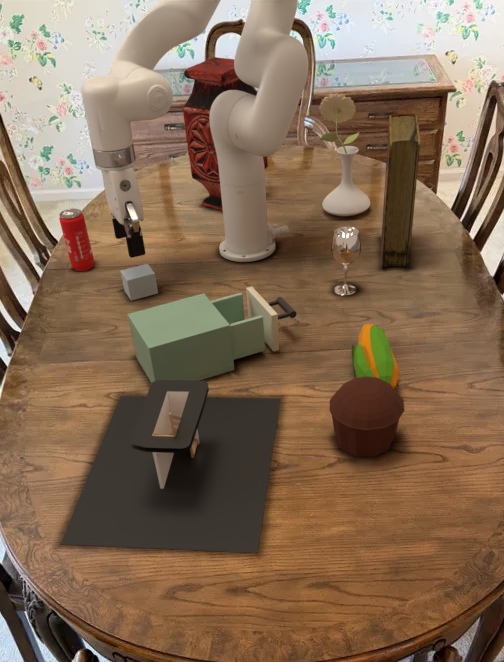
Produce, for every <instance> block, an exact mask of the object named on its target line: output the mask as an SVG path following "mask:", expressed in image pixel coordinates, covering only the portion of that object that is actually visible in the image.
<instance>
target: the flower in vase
mask: <svg viewBox="0 0 504 662" xmlns="http://www.w3.org/2000/svg"><path fill="white" fill-rule="evenodd" d="M319 105H320V106H318V111H319V112H320V115H322V118H323V119H324V120H327V121H328V122H331V121H332V122H333V124H335V134H334V133H332V132H325V133H324V134H323V135H321V137H320V138H319V140H320V141H324V142H329V143H335V142H336V140H338V141H339V143H340V145H341V146H339V147H338V148H336V153H337V155H338V157H339V158H340V164H341V181H340V183H339V185H338V186H337V187H335V188H334V189H332V191H330V192H329V193H328V194H327V195H326V196H325V197H324V199H323V201H322V204H321V207H322V209H323V210H324V211H325V212H326V213H327V214H330V215H334V216H337V217H351V216H357V215H360V214H362V213H365V212H366V211H367V210H368V209H369V208H370V207H371V200H370V197H368V195H367V194H366V193H365V192H364V191H362V189H360V188H359V187H357V186H356V185H355V184H354V182H353V165H354V160H355V157H356V155H357V154H358V152H359V151H360V148H358V147H357V146H353V145H348V144H351V143H353V142H354V141H355V140H356V139H357V138H358V136H359V135H360V132H357V133H355V134H350V135H348V136H347V137H346V138H345V140H344V141H342V140H341V138H340V136H339V134H338V133H339V132H338V124H342V123H343V122H344V123H345V122H347V121H349V120H353V116H355V113H356V112H357V109H356V105H355V104H354V100H352V97H350V96H348V97H347V96H346V94H345V93H341V94H339V93H334V94H333V93H329V95H328V96H325V97H324V98H323V99H321V102H320V104H319Z"/></svg>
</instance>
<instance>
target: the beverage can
mask: <svg viewBox="0 0 504 662" xmlns="http://www.w3.org/2000/svg"><path fill="white" fill-rule="evenodd" d="M58 215H59V218H58V219H59V220H58V221H59V223H60V228H61V231H62V236H63V239H64V242H65V247H66V251H67V254H68V259H69V262H70V265H71V267H72V268H73V269H74V270H75V271H77V272H86V271H89V270H91V269H93V267H94V263H95V259H94V253H93V250H92V246H91V245H92V244H91V241H90V237H89V233H88V228H87V224H86V219H85V215H84V214H83V213H82V210H81V209H79V208H67V209H64V210H62V211H61V212H60V213H59V214H58Z"/></svg>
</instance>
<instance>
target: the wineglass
mask: <svg viewBox="0 0 504 662" xmlns="http://www.w3.org/2000/svg"><path fill="white" fill-rule="evenodd" d="M330 251H331V252H330V253H331V258H332V259H333V261H334V262H335V263H336V264H338V265H341V266H343V267H342V271H343V283H342V284H338V285H335V287H334V288H333V292H334V293H335V294H337V295H340V296H350V295H353V294H355V293H356V291H357V288H356V286H354V285H353V284H350V283H347V274H348V272H349V265H352V264H354V263H356V262H357V261H358V260H359V258H360V257H361V252H362V241H361V236H360V231H359V229H358V228H356V227H354V226H341V227H338V228H336V229H335V230H334V232H333V236H332V240H331V248H330Z"/></svg>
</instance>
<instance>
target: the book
mask: <svg viewBox="0 0 504 662" xmlns="http://www.w3.org/2000/svg"><path fill="white" fill-rule="evenodd" d="M418 118H419V117H418V114H416V113H409V112H401V113H399V112H398V113H393V114H390V115H388V127H387V128H388V129H387V144H386V145H387V147H386V159H385V160H386V161H385V162H386V163H385V176H384V177H385V178H384V190H383V191H384V192H383V207H382V224H381V240H380V241H381V268H382V269H384V268H388V267H394V266H395V267H403V268H409V265H410V256H411V245H412V236H413V235H412V234H413V226H414V225H413V224H414V214H415V213H414V212H415V204H416V194H417V193H416V191H417V183H418V182H417V181H418V171H419V159H420V149H421V136H420V134H421V133H420V126H419V119H418Z"/></svg>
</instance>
